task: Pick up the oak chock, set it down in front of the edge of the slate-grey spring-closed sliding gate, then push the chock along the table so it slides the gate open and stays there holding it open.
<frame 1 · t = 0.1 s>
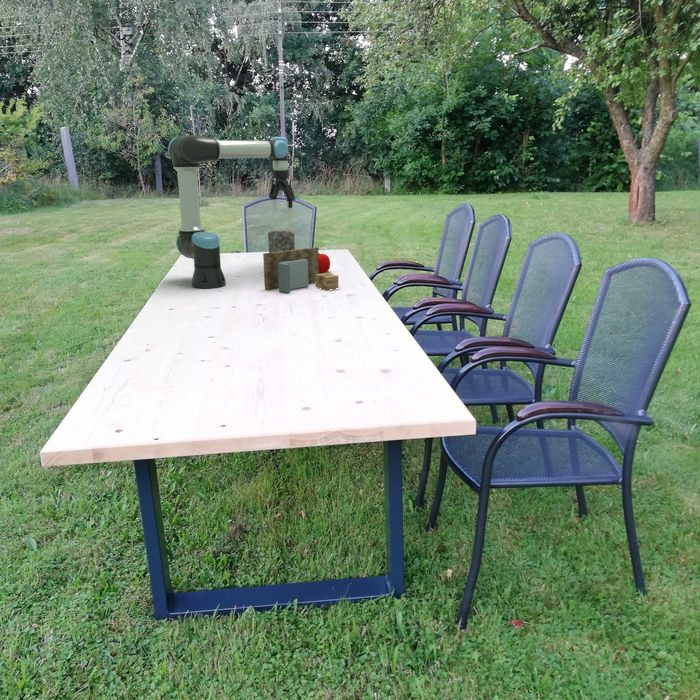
hand: (282, 213, 318), 28 cm above the table, tool pointing down, fingers open, 13 cm apart
gate: (296, 275, 275), point 6 cm above the table, slide at 0.0 cm
oak chock: (327, 288, 280), on the table
tomato: (319, 273, 314), on the table
wall frame: (294, 285, 286), on the table
stone block: (282, 269, 325), on the table
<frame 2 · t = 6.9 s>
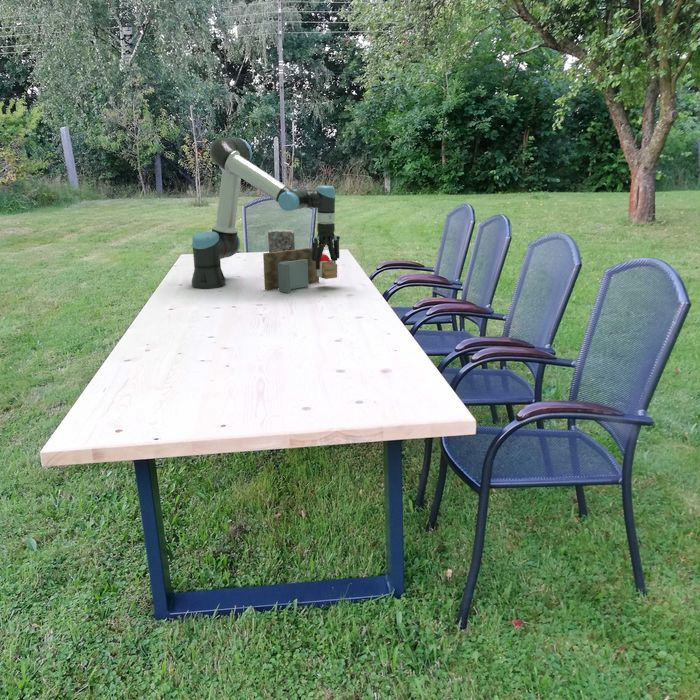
hand: (325, 275, 279), 6 cm above the table, tool pointing down, fingers closed on oak chock, 6 cm apart
oak chock: (325, 276, 279), point 5 cm above the table, touching gripper
everything else where it was.
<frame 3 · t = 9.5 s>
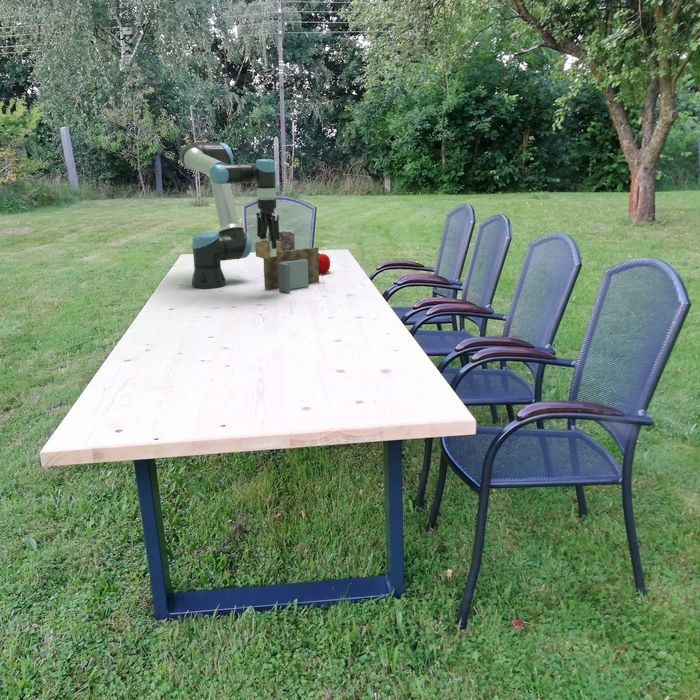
hand: (268, 255, 264), 17 cm above the table, tool pointing down, fingers closed on oak chock, 6 cm apart
oak chock: (268, 256, 264), point 16 cm above the table, touching gripper
everything else where it was.
when the fingers open (0 cm above the table, at t = 12.6 s): oak chock stays where it is, on the table.
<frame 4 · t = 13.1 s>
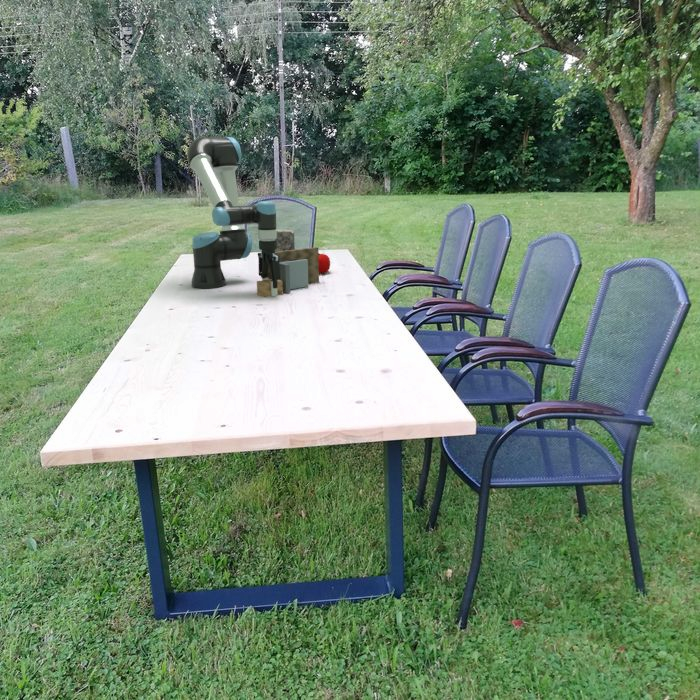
hand: (270, 294, 268), 0 cm above the table, tool pointing down, fingers open, 6 cm apart
oak chock: (270, 294, 268), on the table, touching gripper
everything else where it was.
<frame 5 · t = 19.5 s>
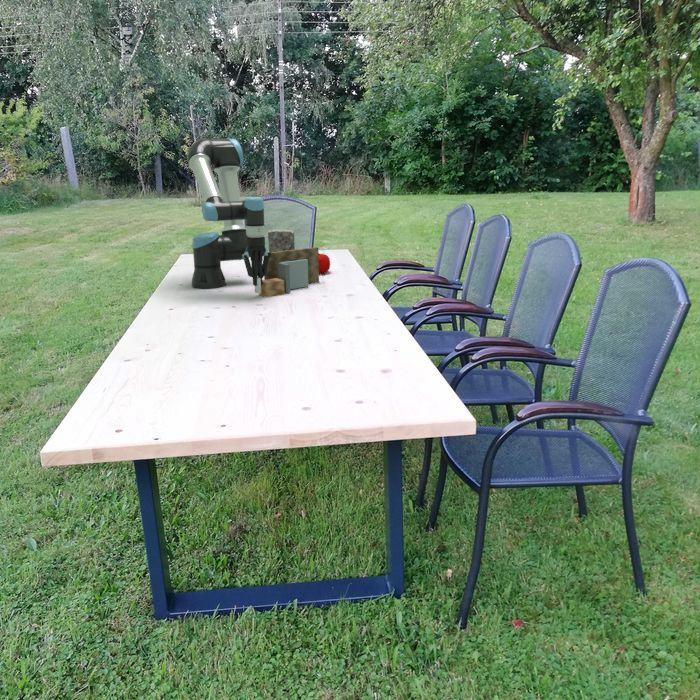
hand: (258, 292, 264), 2 cm above the table, tool pointing down, fingers closed
nothing on the table moved.
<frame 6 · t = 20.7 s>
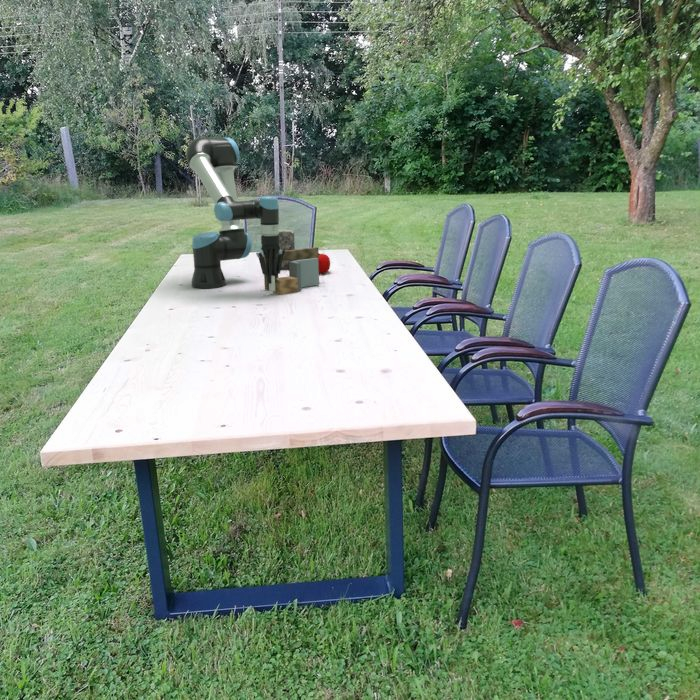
hand: (272, 290, 268), 2 cm above the table, tool pointing down, fingers closed
gate: (307, 274, 279), point 6 cm above the table, slide at 5.7 cm
oak chock: (285, 292, 273), on the table, touching gripper
everything else where it was.
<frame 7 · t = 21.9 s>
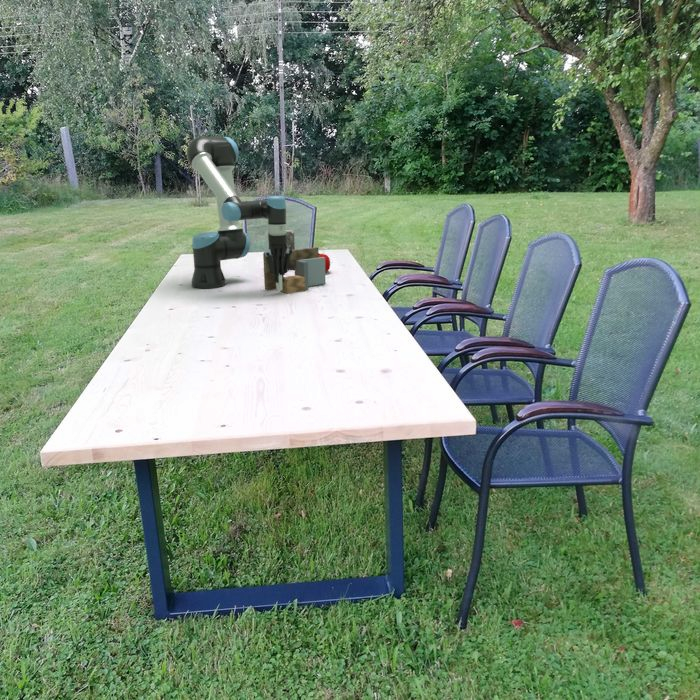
hand: (279, 289, 271), 1 cm above the table, tool pointing down, fingers closed
gate: (314, 273, 281), point 6 cm above the table, slide at 9.5 cm
oak chock: (292, 290, 275), on the table, touching gripper
everything else where it was.
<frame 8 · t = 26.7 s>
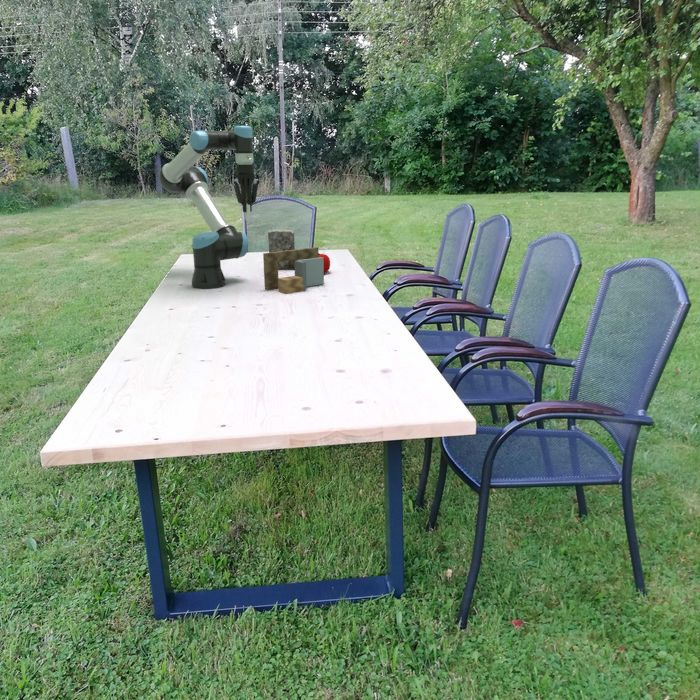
hand: (247, 219, 278), 29 cm above the table, tool pointing down, fingers closed
gate: (312, 273, 280), point 6 cm above the table, slide at 8.6 cm, touching oak chock
oak chock: (291, 291, 275), on the table, touching gate
everything else where it was.
at the end: gate slide at 8.6 cm; oak chock touching gate, table; oak chock inside the target area (0.4 cm from its centre), on the table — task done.
